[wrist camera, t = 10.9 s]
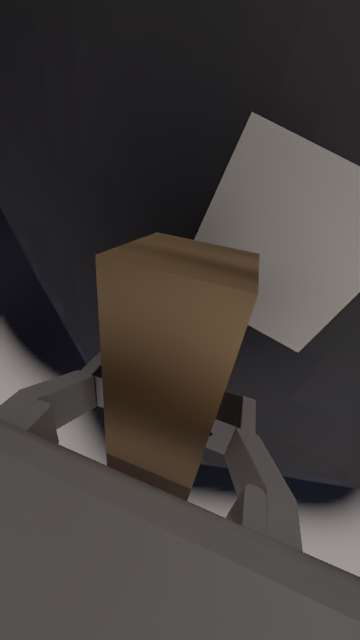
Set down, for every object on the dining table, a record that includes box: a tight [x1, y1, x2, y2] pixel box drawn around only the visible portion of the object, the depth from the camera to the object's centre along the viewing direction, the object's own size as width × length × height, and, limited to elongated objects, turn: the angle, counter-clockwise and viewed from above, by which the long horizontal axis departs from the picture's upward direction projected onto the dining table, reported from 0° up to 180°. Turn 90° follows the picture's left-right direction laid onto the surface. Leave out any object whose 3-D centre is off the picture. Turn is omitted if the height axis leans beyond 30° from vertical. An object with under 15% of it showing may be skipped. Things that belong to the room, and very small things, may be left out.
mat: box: [194, 112, 360, 352], centre depth 22 cm, size 16×16×1 cm
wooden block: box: [95, 232, 259, 501], centre depth 10 cm, size 12×4×4 cm, turn 171°
